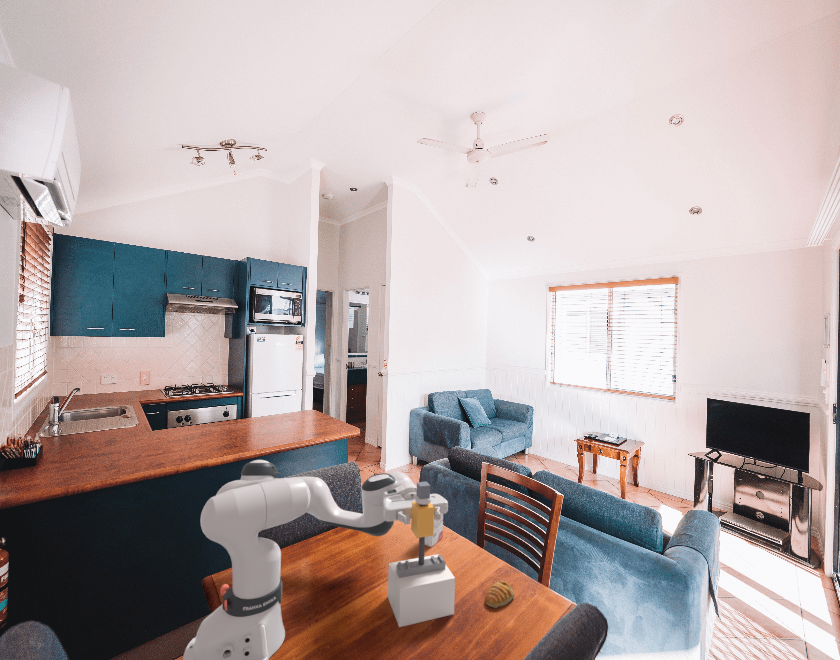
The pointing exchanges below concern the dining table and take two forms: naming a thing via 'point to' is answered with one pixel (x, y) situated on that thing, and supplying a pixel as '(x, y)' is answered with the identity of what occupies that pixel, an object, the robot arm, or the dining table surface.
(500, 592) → the pastry
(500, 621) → the dining table surface
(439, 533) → the ink cartridge box
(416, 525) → the sleeve
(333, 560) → the dining table surface
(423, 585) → the comb base
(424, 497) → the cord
